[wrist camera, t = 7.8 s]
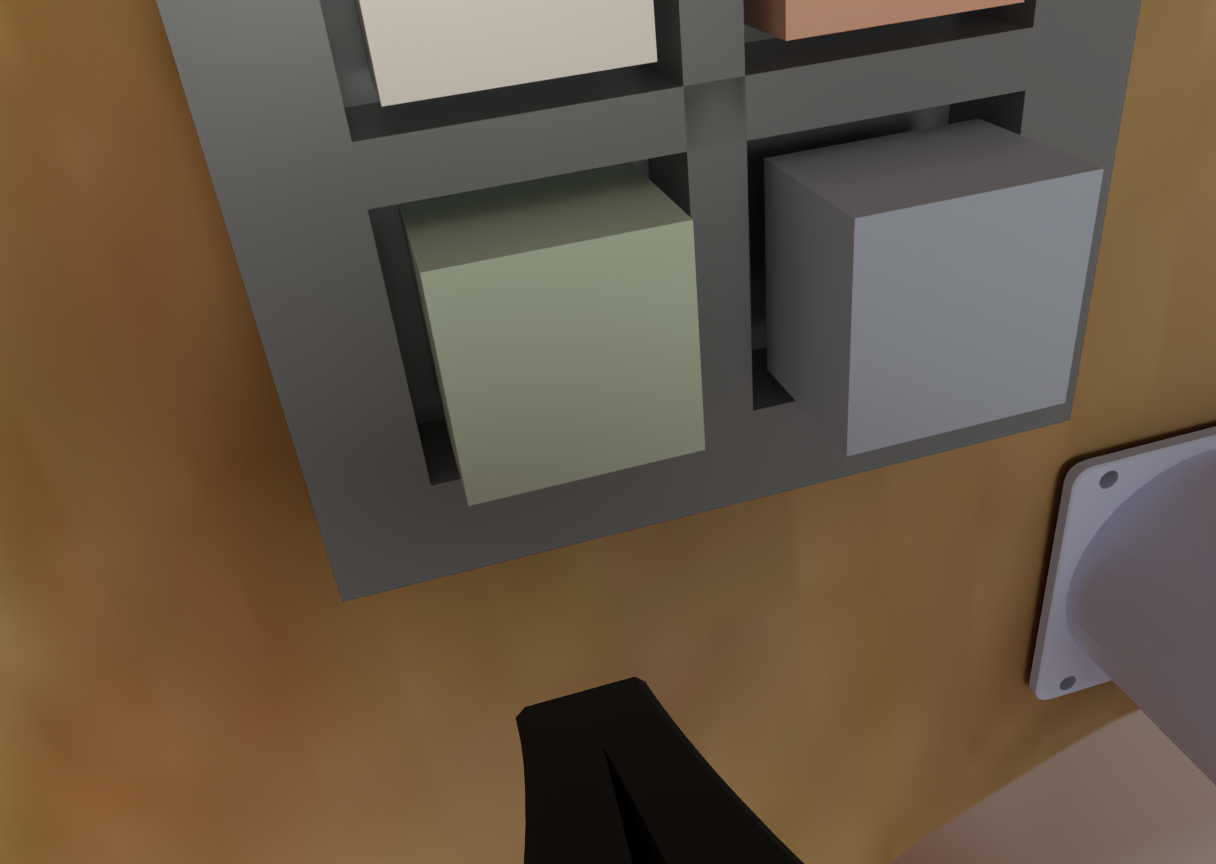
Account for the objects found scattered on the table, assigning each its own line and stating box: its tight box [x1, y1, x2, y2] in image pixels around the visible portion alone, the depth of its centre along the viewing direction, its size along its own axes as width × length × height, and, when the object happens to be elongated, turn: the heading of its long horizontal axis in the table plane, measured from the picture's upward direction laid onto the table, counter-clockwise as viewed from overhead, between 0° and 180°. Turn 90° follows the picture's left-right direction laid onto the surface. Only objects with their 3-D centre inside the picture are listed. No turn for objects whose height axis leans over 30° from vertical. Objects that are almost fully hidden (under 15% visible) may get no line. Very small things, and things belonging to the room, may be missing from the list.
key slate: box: [764, 119, 1104, 456], centre depth 17 cm, size 4×4×3 cm
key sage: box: [398, 162, 705, 506], centre depth 17 cm, size 4×4×3 cm
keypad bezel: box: [156, 0, 1141, 602], centre depth 17 cm, size 15×15×3 cm
